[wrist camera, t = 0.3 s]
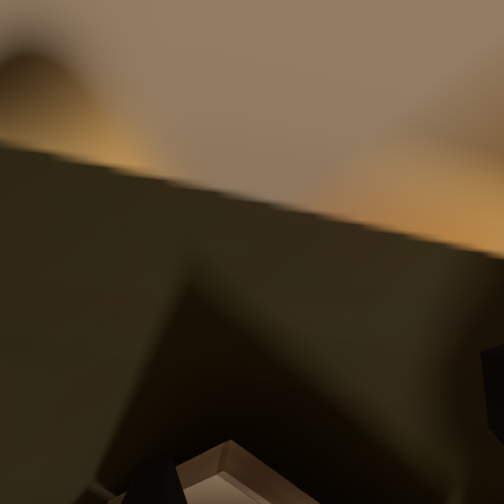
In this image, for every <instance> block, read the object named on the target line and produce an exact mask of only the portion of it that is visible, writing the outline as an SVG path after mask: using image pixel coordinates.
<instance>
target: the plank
mask: <svg viewBox="0 0 504 504" xmlns="http://www.w3.org/2000/svg"><path fill="white" fill-rule="evenodd" d="M176 470H177V473H178V476H179V479H180V482H181V485H182V488H183V491H184V494H185V497H186V500H187V503H188V504H320V503H318V502H317V501H316V500H314V499H313V498H311V497H310V496H309V495H307V494H306V493H304V492H303V491H302V490H300V489H299V488H297V487H296V486H295V485H293V484H292V483H291V482H289V481H288V480H286V479H285V478H284V477H282V476H281V475H279V474H278V473H277V472H275V471H274V470H273V469H271V468H270V467H268V466H267V465H266V464H264V463H263V462H261V461H260V460H259V459H257V458H256V457H255V456H253V455H252V454H250V453H249V452H248V451H246V450H245V449H243V448H242V447H241V446H239V445H238V444H237V443H235V442H234V441H232V440H229V441H227V442H224V443H222V444H220V445H218V446H216V447H214V448H212V449H210V450H208V451H206V452H204V453H202V454H200V455H198V456H196V457H194V458H192V459H190V460H188V461H186V462H184V463H182V464H180V465H178V466H176ZM125 494H126V492H125V493H123V494H121V495H119V496H117V497H115V498H113V499H111V500H109V501H108V503H107V504H121V502H122V500H123V498H124V496H125Z"/></svg>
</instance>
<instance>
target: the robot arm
mask: <svg viewBox="0 0 504 504" xmlns="http://www.w3.org/2000/svg"><path fill="white" fill-rule="evenodd" d="M480 354H481V363H482V372H483V381H484V390H485V398H486V407H487V416H488V425H489V429H490V430H491V431H492V432H493V433H494V434H495V436H496V437H497V438H498V439H499V440H500V442H501V443H502V444H503V445H504V344H503V345H500V346H497V347H494V348H491V349H487V350H484V351H481V352H480ZM121 504H188V503H187V500H186V497H185V494H184V491H183V488H182V485H181V482H180V479H179V476H178V473H177V470H176V467H175V464H174V461H173V458H172V455H171V452H170V453H167V454H164V455H161V456H158V457H154V458H151V459H148V460H145V461H142V462H141V464H140V465H139V467H138V469H137V471H136V473H135V475H134V477H133V479H132V481H131V483H130V485H129V488H128V490H127V492H126V494H125V496H124V498H123V500H122V502H121Z"/></svg>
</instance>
